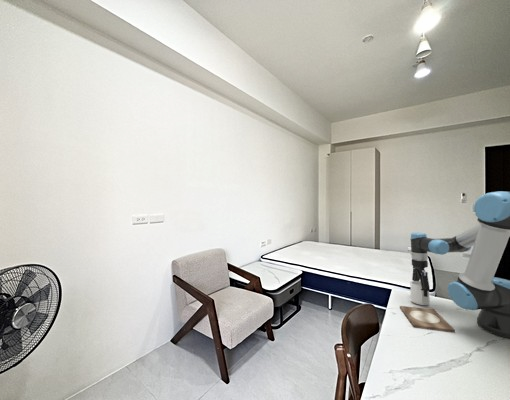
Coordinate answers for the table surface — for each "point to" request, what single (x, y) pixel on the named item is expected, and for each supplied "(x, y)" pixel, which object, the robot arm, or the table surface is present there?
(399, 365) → the table surface
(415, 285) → the mug
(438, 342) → the table surface
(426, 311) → the board
